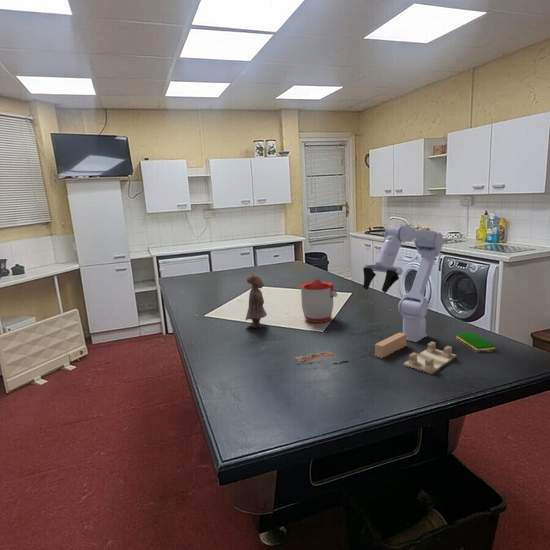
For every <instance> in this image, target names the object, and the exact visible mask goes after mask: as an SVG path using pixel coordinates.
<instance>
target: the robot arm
mask: <svg viewBox="0 0 550 550" xmlns="http://www.w3.org/2000/svg"><path fill="white" fill-rule="evenodd" d="M382 242H383V245H382V246H381V250H380V252H379V254H378V258H377V260H376V261H375V262H372V263H364V265H363V268H362V271H363V286H362V288H363V289H364V290H366V291H368V289H369V288H370V285H371V283H372V281H373V279H374V278H375V277H376V276H377V274H376V272H380V273H381V272H382V273H385V279H384V281H383V284H382V287H381V291H382V293H385V294H387V292H388V291H389V289H390V288H391V287H392V286H393V284H395V283H396V282H397V281H398V280H399V279H400V276H402V274H403V272H404V270H403V269H402V267H398V266H394V264H395V261H396V258H397V256H398V253H399V250H400V248H401V245H402V243H403V244H404V243H405V242H407V243H409V242H414V245H415V248H416V250H417V254H419V255H421V259H420V263H419V265H418V268H417V271H416V275H415V278H414V280H413V283H412V286H411V289H410V291H409V292H406V293H405V294H403V295H402V298H401V300H400V301H399V303H398V305H397V306H398V308H397V309H398V312H399V314H401V317H402V333H404V334H406V341H409V342H413V343H417V342H420V341H421V340H422V338H423V339H425V338H427V337H428V336H427V335H428V333H427V334H426V328H427V327H426V326H427V321H426V317H425V316H426V315H427V312H428V306H429V300H428V299H427V298H426V297H425V296H424V294H425V293H426V288H427V284H428V282H429V279H430V277H431V273H432V270H433V267H434V265H435V262H436V258H437V257H438V256H439V255H441V251H442V248H443V246H444V236H443V234H442V233H441V232H438V231H434V230H429V229H415V228H414V227H413V226H411V224H405V225H403V224H399V225H390V226H387V228H386V229H385V230H384V237H383V241H382ZM424 337H425V338H424Z"/></svg>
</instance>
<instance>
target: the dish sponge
mask: <svg viewBox="0 0 550 550" xmlns="http://www.w3.org/2000/svg"><path fill="white" fill-rule="evenodd" d="M457 338H458V339H460V340H461V341H463V342H464V343H466V344H468V345H469V346H471V347H472V348H474V349H475V350H490V349H495V350H496V345H495V344H494V343H491V342H490V341H488V340H487V339H486V338H483V337H482V336H480V335H478V334H477V333H475V332H465V333H457V334H456V339H457ZM458 339H457V340H458ZM461 341H460V342H461ZM464 343H463V344H464Z"/></svg>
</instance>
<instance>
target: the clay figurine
mask: <svg viewBox="0 0 550 550" xmlns="http://www.w3.org/2000/svg"><path fill="white" fill-rule="evenodd" d="M246 282H247V283H248V284H249V285H251V289H250V291H249V296H248V308H247V311H246V317H245V321H247V320H251V321H252V322H251V323H250V325H251V328H255V329H256V328H260V329H261V328H262V323H261V322H260V321H261V319H263V318H265V317H267V315H268V314H267V312H266V310H265V308H264V303H265V300H264V297H263V292H262V290H261V289H262V288H263V287H264V286H265V284H264V282H263V278H262V277H260V275H259V274H257V273H250V274H249V275H248V276H247V277H246Z"/></svg>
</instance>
